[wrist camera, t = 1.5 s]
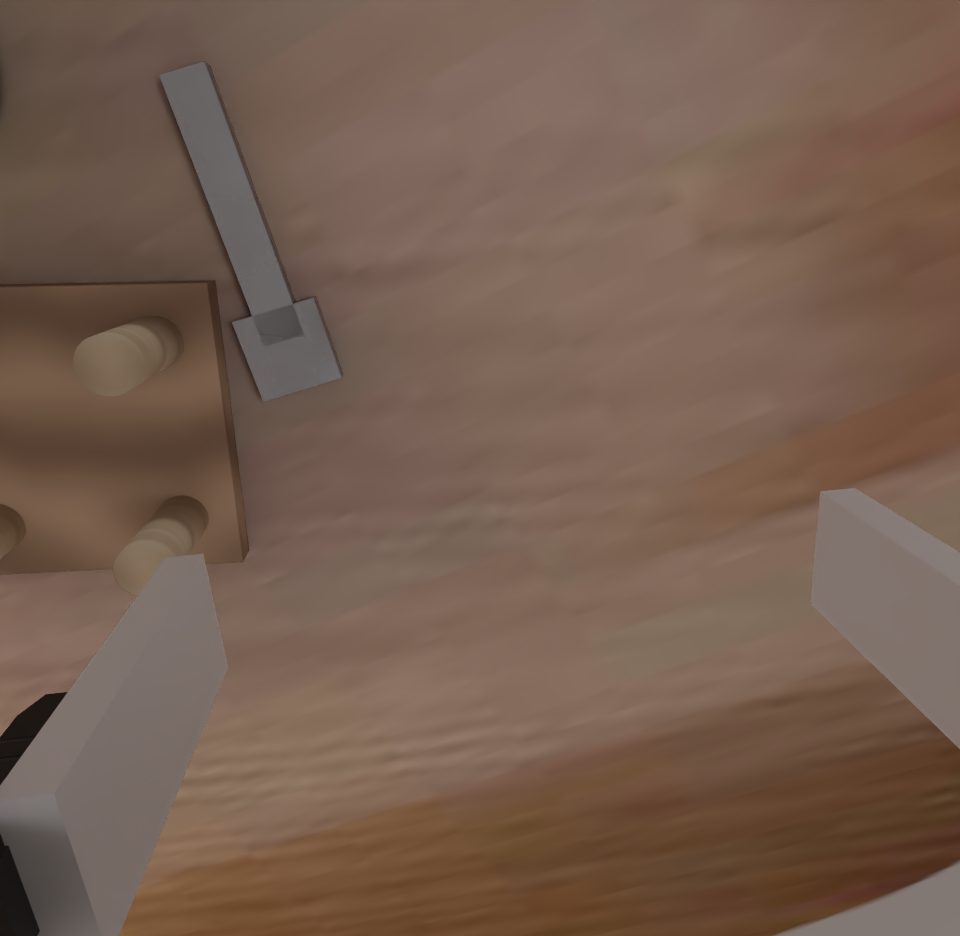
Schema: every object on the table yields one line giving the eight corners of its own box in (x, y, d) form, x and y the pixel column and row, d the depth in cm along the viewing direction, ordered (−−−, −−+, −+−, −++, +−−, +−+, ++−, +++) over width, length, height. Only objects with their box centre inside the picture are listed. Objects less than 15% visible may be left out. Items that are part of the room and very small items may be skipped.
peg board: (-99, 286, 33) (-235, 304, 26) (215, 280, 35) (165, 295, 28) (-27, 563, 38) (-127, 641, 31) (248, 549, 39) (213, 622, 32)
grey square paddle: (145, 86, 32) (136, 81, 31) (233, 60, 32) (226, 54, 31) (267, 396, 37) (263, 402, 36) (343, 373, 37) (341, 378, 36)
